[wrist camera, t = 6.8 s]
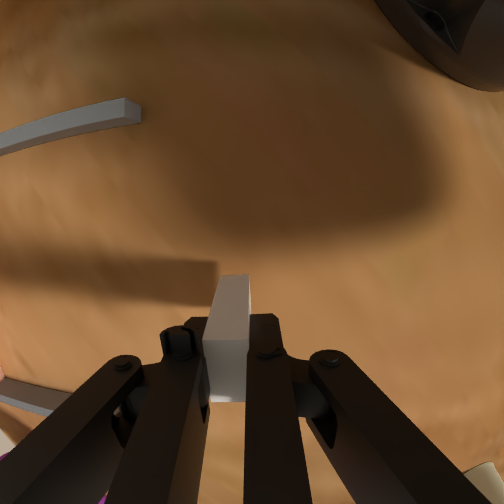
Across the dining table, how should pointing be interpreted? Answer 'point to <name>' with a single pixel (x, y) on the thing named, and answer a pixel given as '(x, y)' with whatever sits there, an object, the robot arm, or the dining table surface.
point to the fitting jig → (39, 133)
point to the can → (487, 482)
